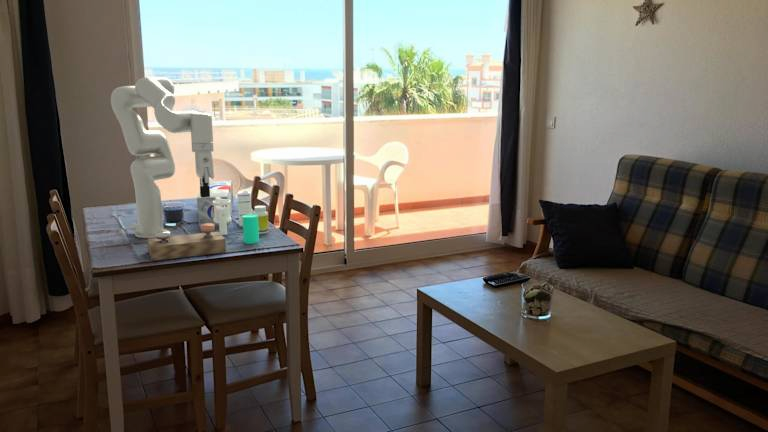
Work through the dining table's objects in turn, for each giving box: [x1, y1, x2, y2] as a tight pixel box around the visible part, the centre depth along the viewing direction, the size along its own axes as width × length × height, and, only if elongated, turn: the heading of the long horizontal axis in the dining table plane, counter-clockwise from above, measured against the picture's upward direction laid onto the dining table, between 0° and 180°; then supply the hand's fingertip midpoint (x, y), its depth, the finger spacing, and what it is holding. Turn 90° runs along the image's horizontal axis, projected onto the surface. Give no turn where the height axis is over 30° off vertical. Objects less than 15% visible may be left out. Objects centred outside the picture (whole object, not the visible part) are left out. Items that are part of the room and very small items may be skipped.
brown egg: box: [200, 223, 216, 238], centre depth 240 cm, size 5×5×7 cm
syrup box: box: [236, 190, 253, 227], centre depth 277 cm, size 6×6×14 cm
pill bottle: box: [252, 205, 270, 235], centre depth 265 cm, size 6×6×11 cm
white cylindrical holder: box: [213, 197, 232, 236], centre depth 262 cm, size 7×7×15 cm
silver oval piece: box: [156, 229, 171, 243], centre depth 233 cm, size 5×5×7 cm
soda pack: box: [196, 179, 234, 228], centre depth 293 cm, size 41×13×14 cm, turn 10°
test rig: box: [146, 231, 227, 262], centre depth 237 cm, size 26×12×5 cm, turn 116°
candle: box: [242, 213, 260, 245], centre depth 251 cm, size 6×6×12 cm
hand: (205, 196), depth 237 cm, fingers closed
